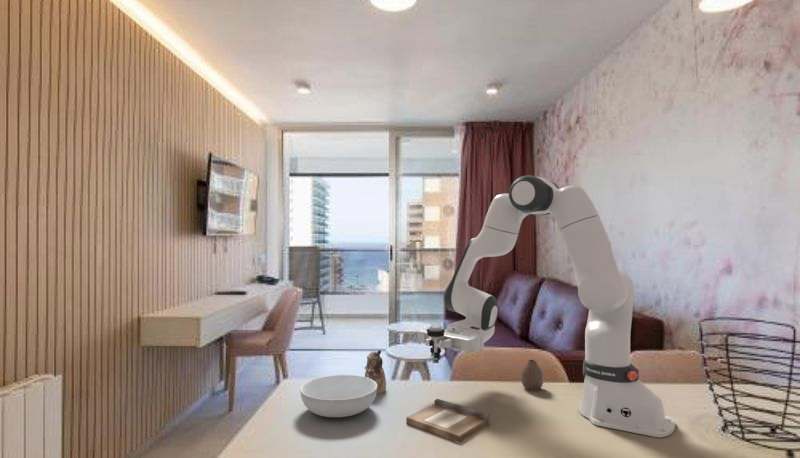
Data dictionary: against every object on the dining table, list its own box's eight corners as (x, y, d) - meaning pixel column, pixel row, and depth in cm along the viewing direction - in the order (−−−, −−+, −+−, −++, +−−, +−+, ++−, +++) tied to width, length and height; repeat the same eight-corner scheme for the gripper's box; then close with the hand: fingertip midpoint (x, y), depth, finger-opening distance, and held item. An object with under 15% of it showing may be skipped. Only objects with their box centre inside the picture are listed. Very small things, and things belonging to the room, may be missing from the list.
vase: (546, 387, 141) (546, 359, 141) (540, 394, 135) (540, 365, 135) (524, 383, 144) (524, 356, 144) (518, 389, 138) (518, 361, 139)
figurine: (358, 389, 138) (358, 351, 138) (376, 384, 142) (376, 347, 143) (372, 396, 132) (373, 355, 133) (390, 390, 137) (390, 351, 137)
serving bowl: (365, 393, 135) (365, 371, 135) (387, 420, 115) (387, 394, 115) (295, 402, 128) (295, 378, 128) (305, 432, 108) (306, 404, 108)
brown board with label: (488, 423, 113) (488, 414, 113) (459, 442, 103) (459, 431, 103) (437, 407, 123) (437, 398, 124) (406, 423, 113) (406, 413, 113)
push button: (445, 365, 125) (445, 329, 125) (426, 364, 125) (426, 329, 125) (444, 358, 131) (444, 324, 131) (426, 358, 132) (426, 324, 132)
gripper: (432, 321, 145) (405, 328, 135) (488, 330, 132) (462, 338, 121) (432, 340, 145) (405, 349, 135) (488, 351, 132) (462, 361, 121)
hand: (432, 344), depth 128 cm, fingers closed on push button, 2 cm apart
